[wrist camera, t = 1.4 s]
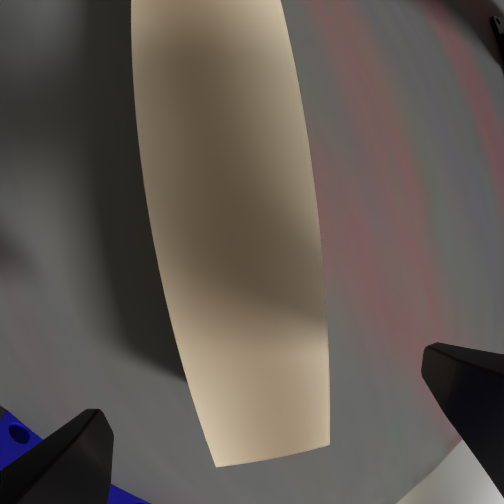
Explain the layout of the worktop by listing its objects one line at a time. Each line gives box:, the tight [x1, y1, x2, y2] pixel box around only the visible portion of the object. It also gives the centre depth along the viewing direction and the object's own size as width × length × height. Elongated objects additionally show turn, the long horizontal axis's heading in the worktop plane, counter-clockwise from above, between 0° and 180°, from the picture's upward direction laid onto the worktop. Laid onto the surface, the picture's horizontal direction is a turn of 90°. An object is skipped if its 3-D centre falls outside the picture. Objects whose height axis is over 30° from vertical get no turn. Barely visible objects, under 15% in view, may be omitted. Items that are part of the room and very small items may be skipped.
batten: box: [131, 0, 330, 467], centre depth 9 cm, size 4×25×5 cm, turn 7°
